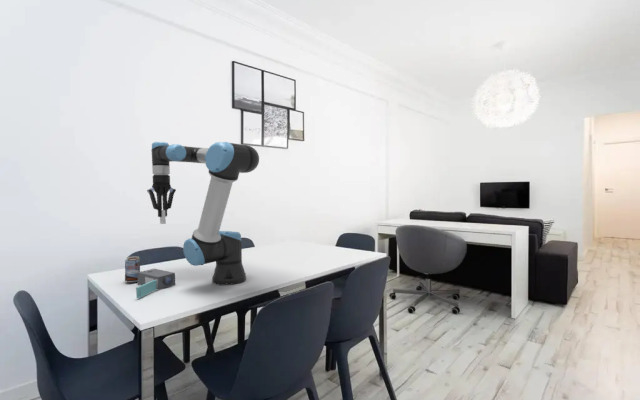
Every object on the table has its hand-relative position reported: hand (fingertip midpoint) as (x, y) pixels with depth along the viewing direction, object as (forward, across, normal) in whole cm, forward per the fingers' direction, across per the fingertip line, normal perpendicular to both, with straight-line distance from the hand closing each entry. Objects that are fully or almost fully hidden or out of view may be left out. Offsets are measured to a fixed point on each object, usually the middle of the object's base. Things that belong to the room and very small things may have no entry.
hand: (162, 223), depth 160 cm
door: (+26, +16, +21) cm, 37 cm away
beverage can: (+27, +13, -4) cm, 30 cm away
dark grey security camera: (+26, +8, +10) cm, 29 cm away
